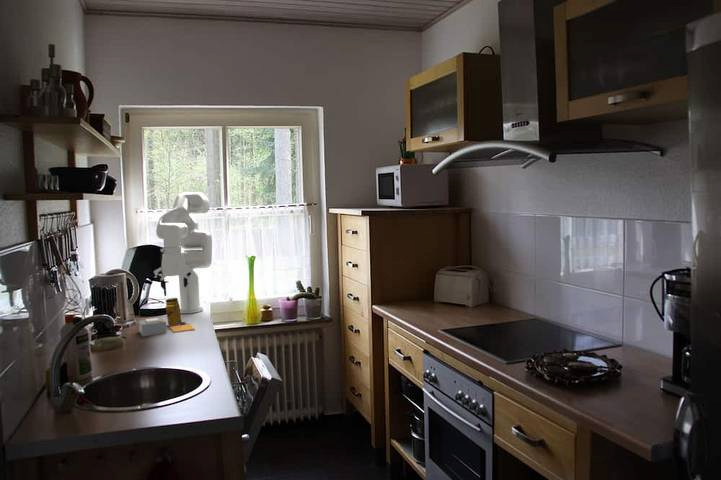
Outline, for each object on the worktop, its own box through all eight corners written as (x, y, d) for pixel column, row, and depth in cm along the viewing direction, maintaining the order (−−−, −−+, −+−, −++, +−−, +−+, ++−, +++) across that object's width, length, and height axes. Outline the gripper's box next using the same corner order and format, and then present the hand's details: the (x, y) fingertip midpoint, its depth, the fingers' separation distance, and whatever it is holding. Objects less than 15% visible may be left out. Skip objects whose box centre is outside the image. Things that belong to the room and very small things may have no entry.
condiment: (164, 326, 275) (160, 300, 275) (175, 322, 283) (171, 297, 283) (177, 325, 273) (174, 299, 272) (188, 321, 281) (185, 296, 280)
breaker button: (145, 328, 265) (145, 319, 265) (157, 326, 267) (157, 317, 267) (147, 330, 260) (146, 321, 260) (159, 328, 263) (158, 319, 262)
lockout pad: (169, 327, 272) (169, 326, 272) (189, 325, 276) (189, 324, 276) (174, 332, 262) (174, 331, 262) (194, 329, 266) (194, 328, 266)
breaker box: (139, 331, 266) (138, 319, 266) (162, 328, 271) (162, 316, 270) (142, 336, 257) (141, 323, 257) (166, 333, 262) (165, 320, 261)
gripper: (154, 252, 268) (156, 290, 269) (193, 250, 276) (195, 287, 277) (151, 251, 275) (153, 288, 276) (190, 249, 282) (191, 285, 284)
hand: (174, 287), depth 276 cm, fingers open, 9 cm apart
